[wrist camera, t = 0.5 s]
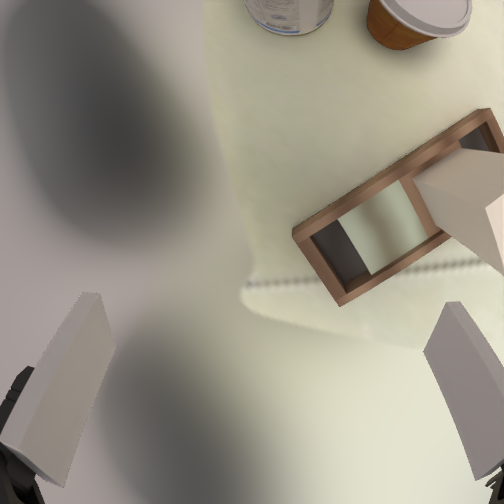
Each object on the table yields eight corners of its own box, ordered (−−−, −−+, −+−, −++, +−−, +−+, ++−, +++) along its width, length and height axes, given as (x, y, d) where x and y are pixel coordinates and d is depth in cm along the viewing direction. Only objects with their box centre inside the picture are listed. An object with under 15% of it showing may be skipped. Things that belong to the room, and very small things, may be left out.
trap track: (477, 109, 27) (490, 107, 25) (508, 180, 29) (521, 184, 27) (292, 229, 36) (291, 236, 33) (336, 295, 38) (339, 307, 35)
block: (457, 147, 28) (543, 160, 14) (478, 193, 29) (561, 230, 15) (412, 178, 30) (484, 207, 16) (434, 224, 31) (506, 278, 17)
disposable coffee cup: (400, -14, 24) (433, -60, 12) (443, 50, 26) (494, 23, 15) (336, 6, 26) (350, -46, 15) (381, 74, 29) (418, 45, 17)
